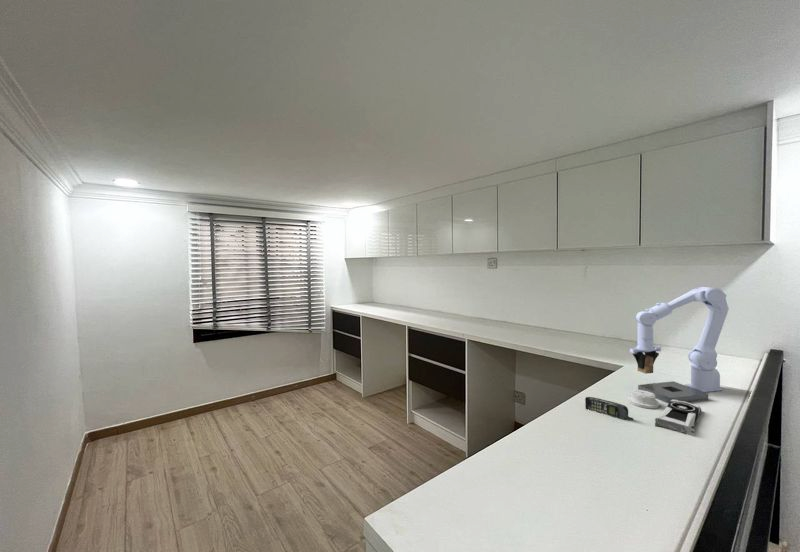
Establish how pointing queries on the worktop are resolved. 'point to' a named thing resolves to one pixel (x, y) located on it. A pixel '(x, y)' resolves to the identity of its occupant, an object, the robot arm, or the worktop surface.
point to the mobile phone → (607, 407)
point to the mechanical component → (643, 399)
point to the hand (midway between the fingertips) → (645, 367)
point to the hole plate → (674, 392)
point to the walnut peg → (647, 365)
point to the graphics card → (679, 416)
